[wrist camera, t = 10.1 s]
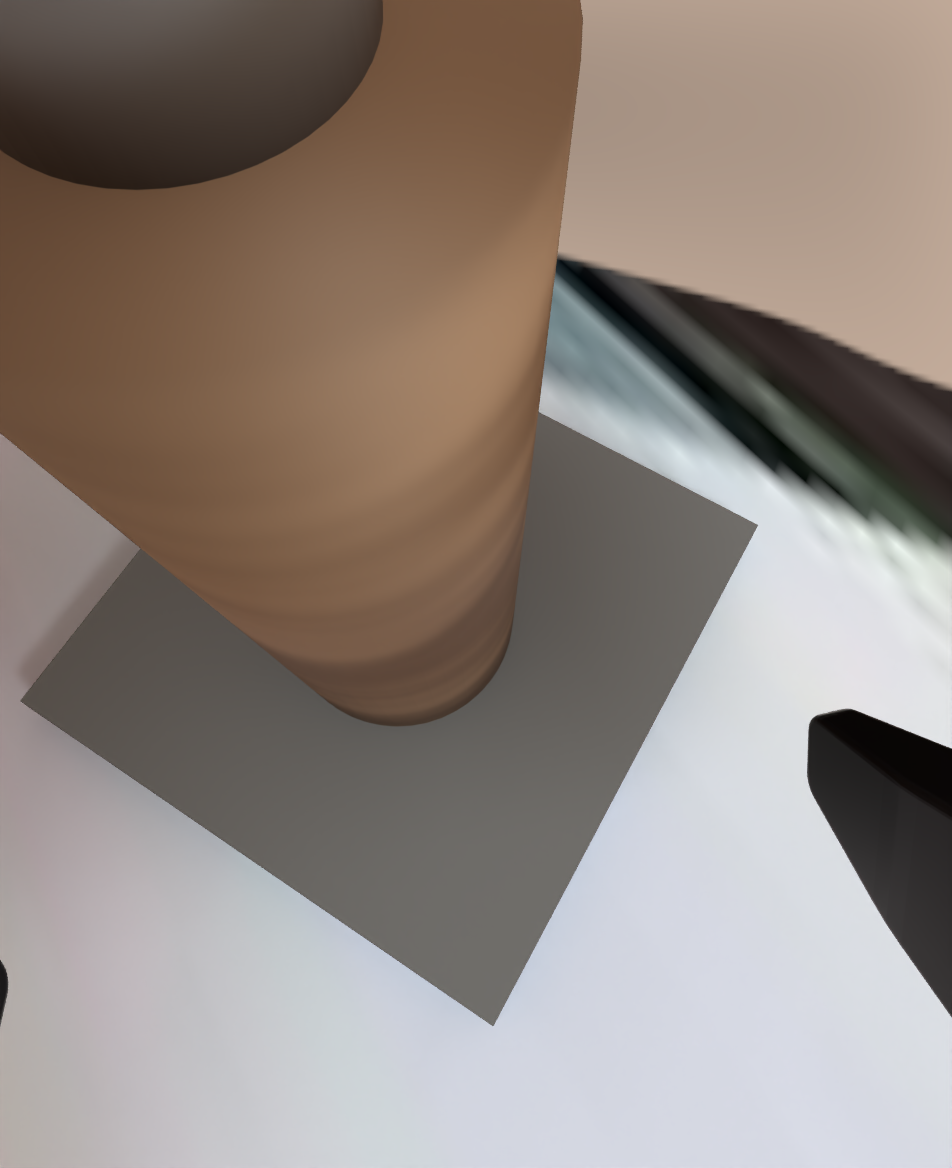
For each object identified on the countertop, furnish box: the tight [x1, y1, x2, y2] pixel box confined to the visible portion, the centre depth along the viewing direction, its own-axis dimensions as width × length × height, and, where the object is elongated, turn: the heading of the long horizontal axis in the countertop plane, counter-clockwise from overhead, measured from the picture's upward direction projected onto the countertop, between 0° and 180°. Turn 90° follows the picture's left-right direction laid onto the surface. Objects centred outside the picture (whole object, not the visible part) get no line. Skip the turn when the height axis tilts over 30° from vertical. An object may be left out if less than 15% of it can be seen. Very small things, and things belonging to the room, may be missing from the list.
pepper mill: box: [0, 0, 583, 727], centre depth 10 cm, size 5×5×14 cm
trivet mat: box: [21, 412, 758, 1026], centre depth 17 cm, size 12×12×1 cm
